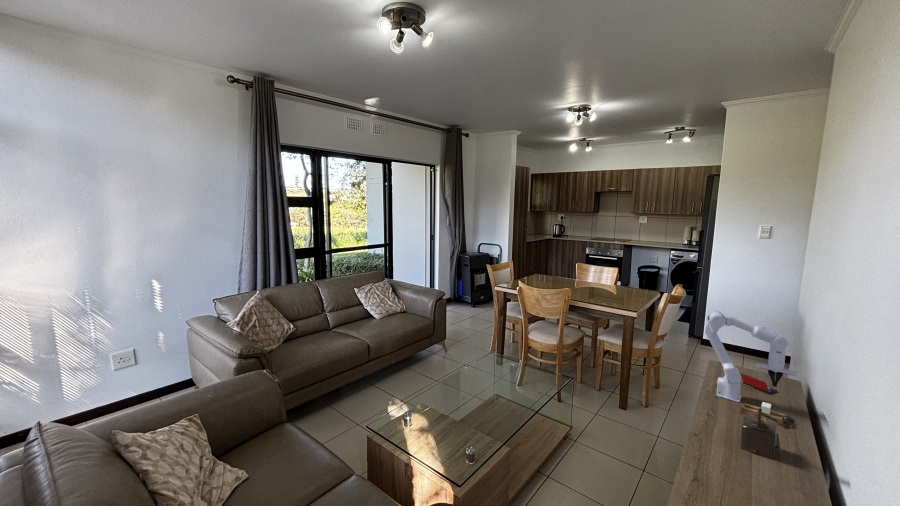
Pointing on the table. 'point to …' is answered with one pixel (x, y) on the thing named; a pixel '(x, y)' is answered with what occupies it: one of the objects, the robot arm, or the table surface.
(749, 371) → the table surface
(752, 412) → the brown wooden frame
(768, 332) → the robot arm
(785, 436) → the table surface
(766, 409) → the block
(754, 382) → the handheld game console
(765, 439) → the dark brown boxy piece
